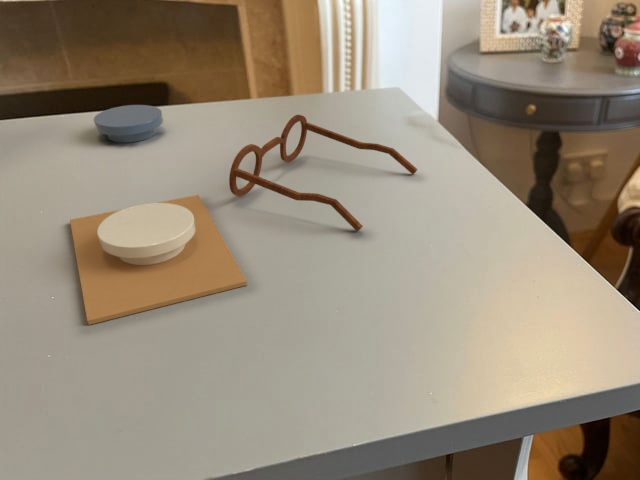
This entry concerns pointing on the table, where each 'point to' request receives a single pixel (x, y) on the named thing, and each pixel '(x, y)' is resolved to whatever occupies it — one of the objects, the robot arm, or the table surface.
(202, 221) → the mat
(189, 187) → the table surface
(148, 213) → the top plate
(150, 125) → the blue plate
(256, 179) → the glasses
